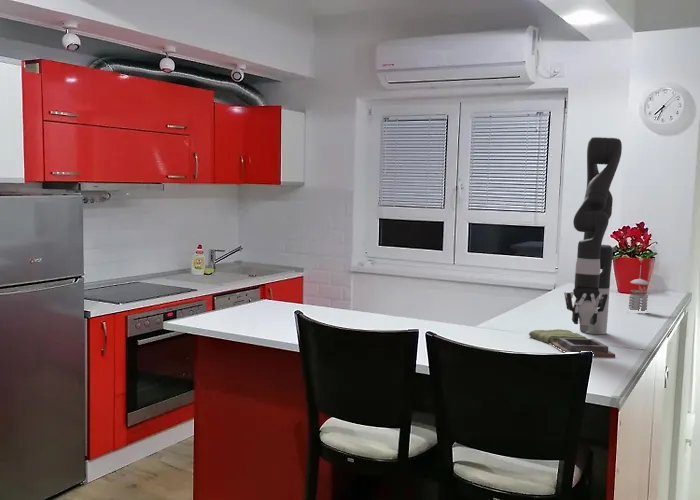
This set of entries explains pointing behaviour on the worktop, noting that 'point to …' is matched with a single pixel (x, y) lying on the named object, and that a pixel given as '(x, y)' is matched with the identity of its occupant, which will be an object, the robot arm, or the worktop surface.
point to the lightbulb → (585, 314)
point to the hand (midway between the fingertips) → (584, 323)
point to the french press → (638, 295)
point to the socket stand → (583, 346)
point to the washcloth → (554, 335)
